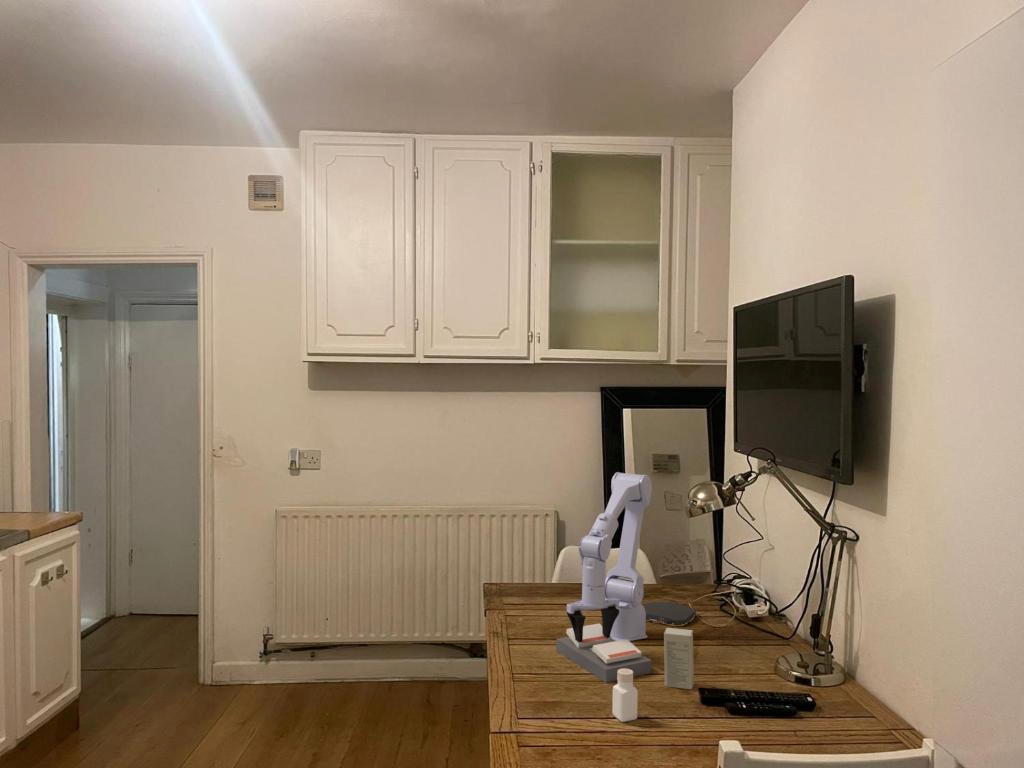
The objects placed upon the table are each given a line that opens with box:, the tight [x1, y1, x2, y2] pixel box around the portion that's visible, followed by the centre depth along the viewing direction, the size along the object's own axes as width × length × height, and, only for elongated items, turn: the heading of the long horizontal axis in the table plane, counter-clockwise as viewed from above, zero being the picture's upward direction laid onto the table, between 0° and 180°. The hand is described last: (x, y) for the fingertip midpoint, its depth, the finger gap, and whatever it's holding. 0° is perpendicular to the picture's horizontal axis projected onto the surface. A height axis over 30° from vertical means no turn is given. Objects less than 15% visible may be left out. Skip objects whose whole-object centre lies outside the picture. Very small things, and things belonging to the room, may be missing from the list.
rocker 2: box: [592, 639, 642, 664], centre depth 173 cm, size 10×6×1 cm, turn 118°
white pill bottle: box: [612, 669, 639, 723], centre depth 149 cm, size 4×4×10 cm
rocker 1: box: [565, 623, 612, 648], centre depth 184 cm, size 10×6×1 cm, turn 118°
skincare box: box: [663, 627, 695, 690], centre depth 166 cm, size 6×4×12 cm
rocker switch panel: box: [555, 636, 652, 683], centre depth 179 cm, size 13×22×3 cm, turn 28°
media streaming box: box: [642, 601, 697, 625], centre depth 214 cm, size 15×15×3 cm
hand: (592, 638), depth 182 cm, fingers open, 7 cm apart
